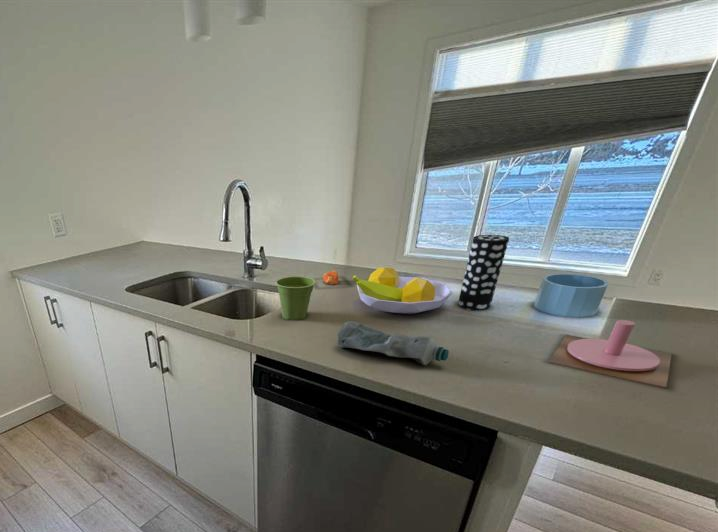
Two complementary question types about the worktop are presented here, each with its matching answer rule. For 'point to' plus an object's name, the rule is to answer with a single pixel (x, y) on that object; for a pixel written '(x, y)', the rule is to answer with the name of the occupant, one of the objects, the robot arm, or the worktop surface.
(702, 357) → the worktop surface
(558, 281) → the bowl
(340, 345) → the crushed plastic bottle
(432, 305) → the fruit bowl
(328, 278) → the raw meat
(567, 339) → the wooden cutting board
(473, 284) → the spotted tube
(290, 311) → the plant pot
